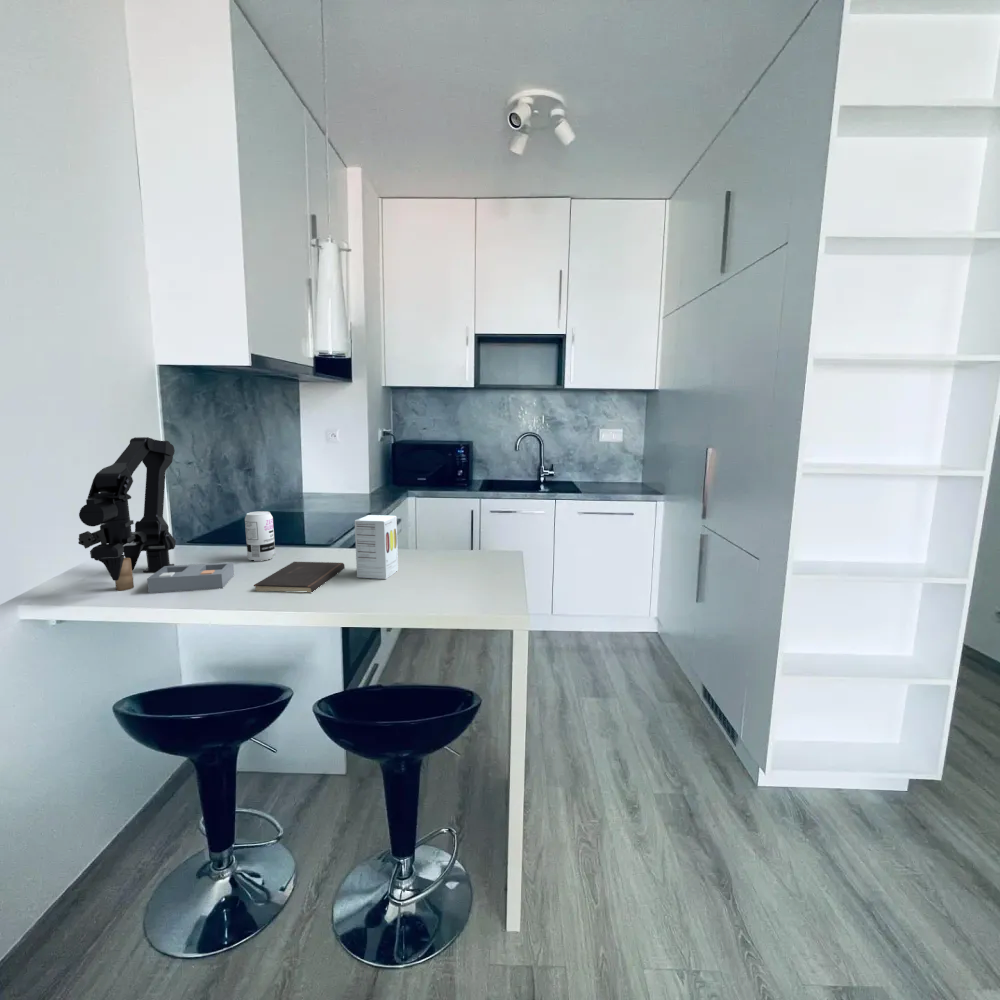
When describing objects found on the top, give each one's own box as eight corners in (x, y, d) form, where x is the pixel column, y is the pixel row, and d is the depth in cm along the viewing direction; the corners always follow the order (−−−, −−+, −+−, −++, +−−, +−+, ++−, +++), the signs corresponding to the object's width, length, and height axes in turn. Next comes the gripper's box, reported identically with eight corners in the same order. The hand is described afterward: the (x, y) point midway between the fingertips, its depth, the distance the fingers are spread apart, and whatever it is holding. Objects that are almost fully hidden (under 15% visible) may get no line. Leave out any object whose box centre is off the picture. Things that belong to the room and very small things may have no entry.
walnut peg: (120, 586, 150) (116, 558, 149) (136, 585, 151) (133, 557, 149) (113, 591, 146) (109, 562, 145) (130, 590, 147) (126, 561, 146)
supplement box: (386, 579, 155) (384, 521, 152) (356, 578, 157) (353, 520, 154) (399, 570, 164) (397, 515, 161) (370, 568, 166) (368, 514, 163)
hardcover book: (254, 593, 145) (253, 584, 145) (294, 568, 168) (293, 561, 168) (312, 594, 144) (311, 586, 144) (344, 570, 167) (344, 562, 166)
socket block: (166, 579, 156) (164, 565, 155) (234, 575, 159) (233, 561, 159) (148, 593, 144) (147, 577, 144) (222, 588, 148) (221, 572, 147)
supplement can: (248, 556, 180) (245, 511, 178) (275, 554, 183) (272, 510, 180) (247, 563, 173) (243, 516, 170) (275, 560, 175) (271, 514, 173)
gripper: (100, 513, 153) (106, 567, 155) (62, 527, 135) (70, 588, 137) (144, 511, 155) (150, 565, 157) (113, 525, 137) (120, 585, 139)
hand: (123, 575), depth 148 cm, fingers open, 9 cm apart
